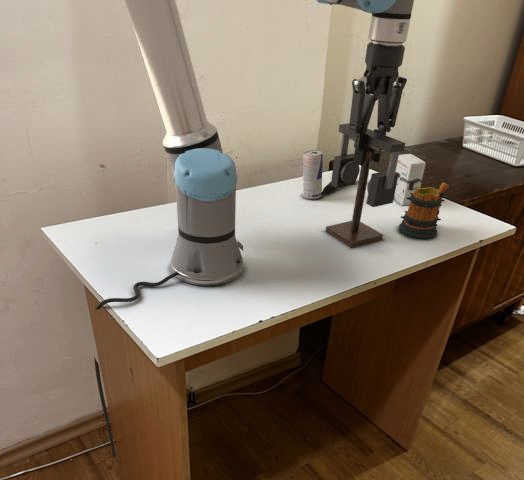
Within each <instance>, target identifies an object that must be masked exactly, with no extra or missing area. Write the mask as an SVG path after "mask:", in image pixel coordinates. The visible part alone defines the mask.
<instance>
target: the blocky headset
mask: <svg viewBox="0 0 524 480" xmlns="http://www.w3.org/2000/svg"><path fill="white" fill-rule="evenodd" d="M338 126H339V127H338V133H340V134H341V138H340V146H339V147H340V148H339V154H338V155H335V156H334V158H333V165H332V173H331V179H330V182H331V185H332V186H334V187H336V188H337V189H339V188H345V187H349V186H350V187H351V186H355V185H356V183H357V179H358V178H359V175H360V169H361V166H360V165H359V164H357V163H355V162H353V159H354V153H348V150H349V145H350V144H349V143H350V140H351V141H353V142H355V135H356V132H355V131H353V130H351V129H349V123H340V124H339V125H338ZM361 127H362V126H361ZM366 134H369V136H368V141H367V146H368V147H370V148H372V149H375V150H377V151H381V152H383V151H385V152H386V153H389V154H390V155H389V161H388V166H387V170H384V171H378V172H374V173H373V172H372V173H371V175H370V178H369V181H368V182H367V186H366V192H367V197H366V204H365V205H369V206H370V207H372V208H377V207H381V206H386V205H390V204H393V202H394V195H395V190H396V185H397V181H398V176H399V173H397V172H395V171H396V167H397V162H398V157H399V155H400V152H404V151H405V149H406V148H405V147H406V142H404V141H401V140H399V139H396V138H393V137H391V136H388V135H387V134H386V135H383V134H381V133H378V132H375V131H374V129H373V130H372V129H370V128H367V131H366Z"/></svg>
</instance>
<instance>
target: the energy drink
mask: <svg viewBox="0 0 524 480" xmlns="http://www.w3.org/2000/svg"><path fill="white" fill-rule="evenodd" d="M323 157H324V156H323V152H322V151H320V150H316V149H311V150H306V151H304V152H303V155H302V196H303V198H305V199H308V200H316V199H319V198H322V196H321V195H322V191H323V159H324V158H323Z"/></svg>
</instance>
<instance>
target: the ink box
mask: <svg viewBox="0 0 524 480" xmlns="http://www.w3.org/2000/svg"><path fill="white" fill-rule="evenodd" d="M426 165H427V163H426V162H425V161H424V160H423V159H421V158H419V157H417V156H416V155H414V154H412V153H405V154H404V153H403V154H399V157H398V162H397V167H396V171H395V172H397V173H399V176H398V181H397V185H396V190H395V195H394V199H393V201H394V200H395V202H397V203H398V204H400V205H401V206H410V203H411V201H410V200H408V199H406V198H407V197H411V194H410V193H414V191H415V189H416V188H417V189H418V188H421V186H422V181H423V177H424V173H425V169H426Z"/></svg>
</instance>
